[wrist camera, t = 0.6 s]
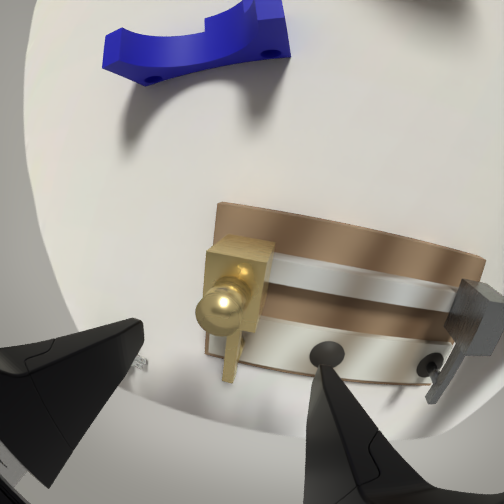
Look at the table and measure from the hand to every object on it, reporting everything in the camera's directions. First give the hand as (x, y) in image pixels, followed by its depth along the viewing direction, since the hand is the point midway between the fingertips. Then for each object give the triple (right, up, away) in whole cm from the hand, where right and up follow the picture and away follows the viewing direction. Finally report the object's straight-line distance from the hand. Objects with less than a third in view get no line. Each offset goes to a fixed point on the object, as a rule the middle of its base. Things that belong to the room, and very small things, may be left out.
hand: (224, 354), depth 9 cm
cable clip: (-2, +20, +8) cm, 21 cm away
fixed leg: (+17, -3, +8) cm, 19 cm away
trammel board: (+9, -1, +11) cm, 14 cm away
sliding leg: (0, 0, +10) cm, 10 cm away
